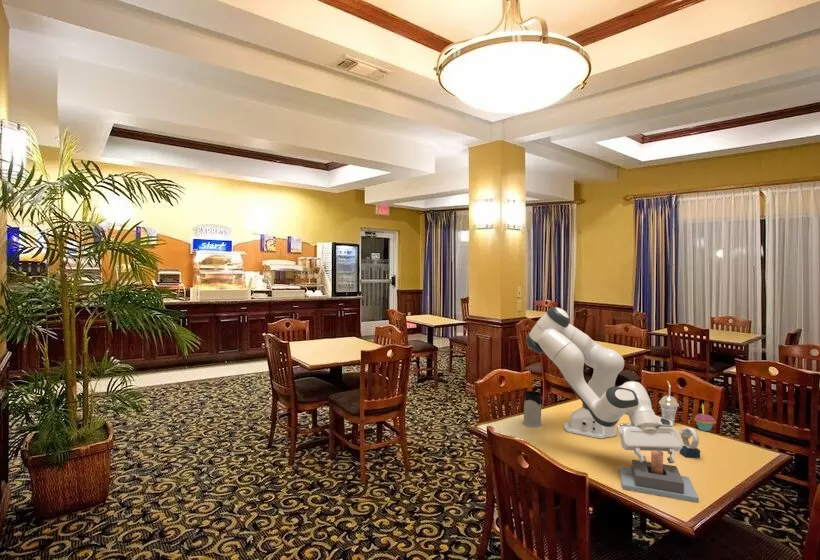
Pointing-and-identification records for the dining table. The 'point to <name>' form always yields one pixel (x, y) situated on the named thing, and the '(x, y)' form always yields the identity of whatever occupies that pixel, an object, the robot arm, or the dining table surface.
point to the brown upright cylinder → (657, 462)
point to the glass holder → (532, 409)
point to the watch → (688, 449)
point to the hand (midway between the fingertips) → (657, 462)
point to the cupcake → (704, 421)
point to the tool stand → (657, 481)
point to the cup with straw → (668, 406)
